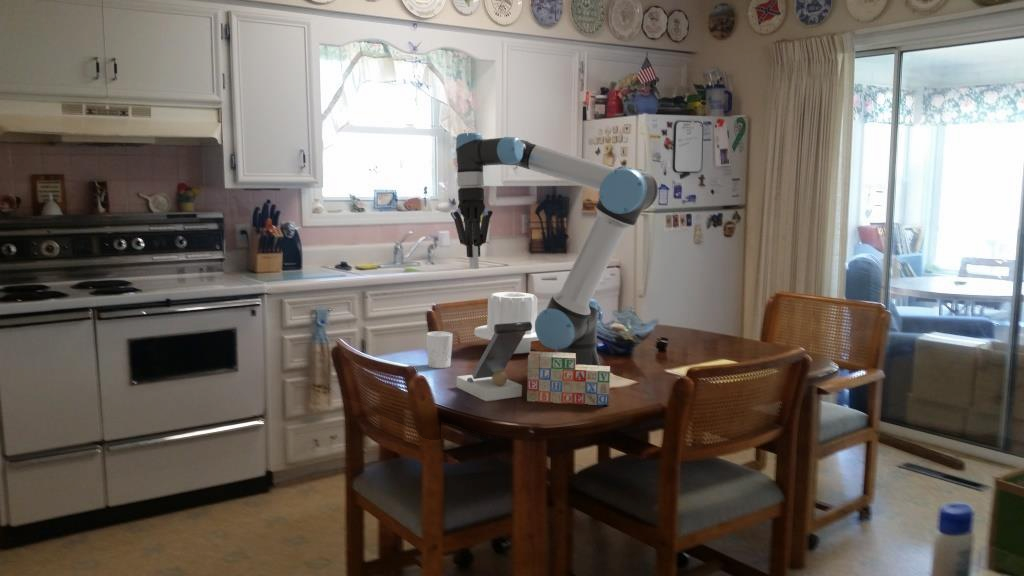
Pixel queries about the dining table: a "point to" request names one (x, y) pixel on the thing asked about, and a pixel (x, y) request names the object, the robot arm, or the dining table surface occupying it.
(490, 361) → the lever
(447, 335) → the white cup
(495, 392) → the white slotted base
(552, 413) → the dining table surface
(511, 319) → the ribbed cylinder on disc
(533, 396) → the stack of blocks
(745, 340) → the dining table surface
